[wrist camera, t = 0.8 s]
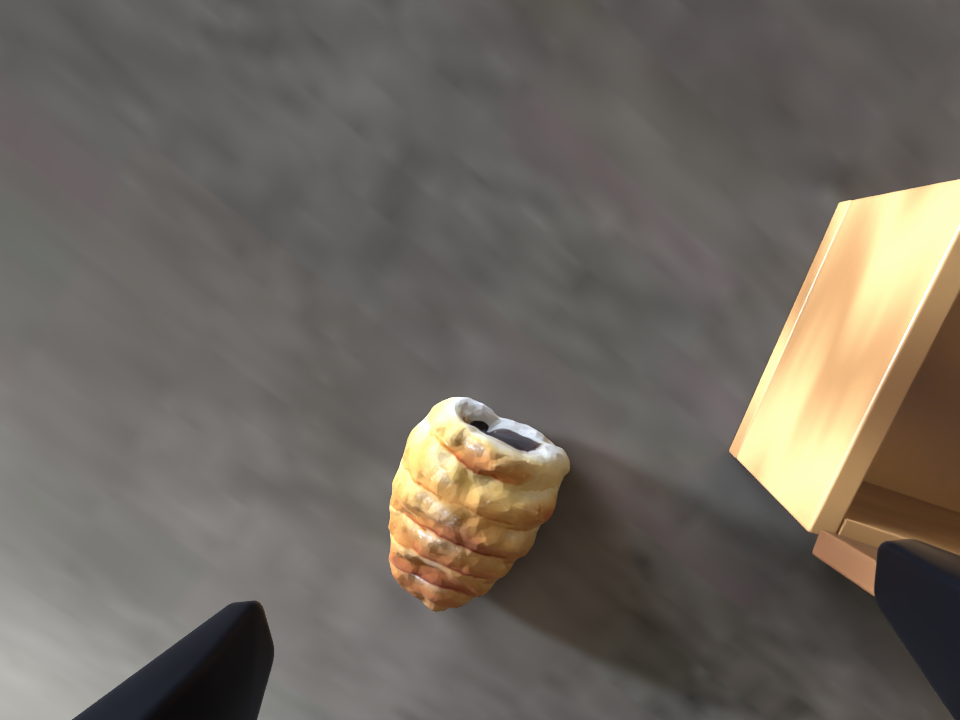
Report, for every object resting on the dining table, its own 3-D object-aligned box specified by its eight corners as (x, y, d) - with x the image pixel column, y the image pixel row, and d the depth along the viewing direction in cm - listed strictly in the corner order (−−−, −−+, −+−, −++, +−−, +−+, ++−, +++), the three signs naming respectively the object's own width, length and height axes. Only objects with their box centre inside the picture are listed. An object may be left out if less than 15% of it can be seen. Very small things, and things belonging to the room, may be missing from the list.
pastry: (492, 610, 25) (483, 672, 21) (364, 550, 25) (332, 600, 21) (578, 440, 23) (583, 475, 19) (437, 377, 23) (415, 399, 19)
